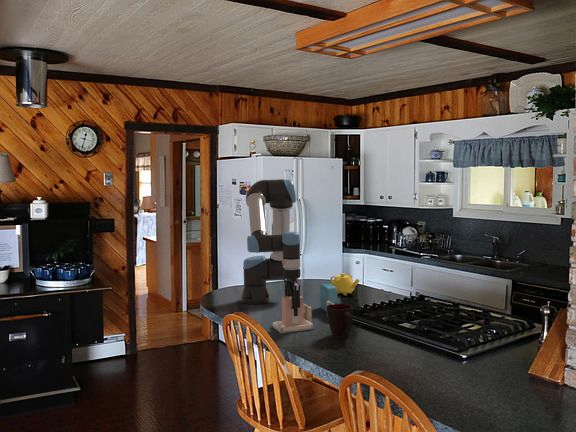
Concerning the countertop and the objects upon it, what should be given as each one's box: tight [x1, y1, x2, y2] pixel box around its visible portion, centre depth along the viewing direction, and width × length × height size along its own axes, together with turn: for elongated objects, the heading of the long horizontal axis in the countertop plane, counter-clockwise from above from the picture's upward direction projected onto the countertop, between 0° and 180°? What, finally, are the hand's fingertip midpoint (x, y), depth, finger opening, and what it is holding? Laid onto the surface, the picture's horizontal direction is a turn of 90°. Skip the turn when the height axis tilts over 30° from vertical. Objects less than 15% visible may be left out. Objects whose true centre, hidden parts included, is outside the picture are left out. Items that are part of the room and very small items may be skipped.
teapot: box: [329, 272, 360, 297], centre depth 312 cm, size 14×14×11 cm
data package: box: [319, 283, 338, 313], centre depth 277 cm, size 12×4×12 cm, turn 16°
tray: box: [271, 318, 315, 334], centre depth 247 cm, size 11×15×2 cm
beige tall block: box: [281, 295, 304, 327], centre depth 247 cm, size 5×8×12 cm, turn 110°
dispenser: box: [303, 301, 334, 324], centre depth 260 cm, size 8×13×7 cm, turn 110°
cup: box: [326, 303, 354, 338], centre depth 233 cm, size 10×14×12 cm
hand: (292, 321), depth 247 cm, fingers closed on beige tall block, 5 cm apart
